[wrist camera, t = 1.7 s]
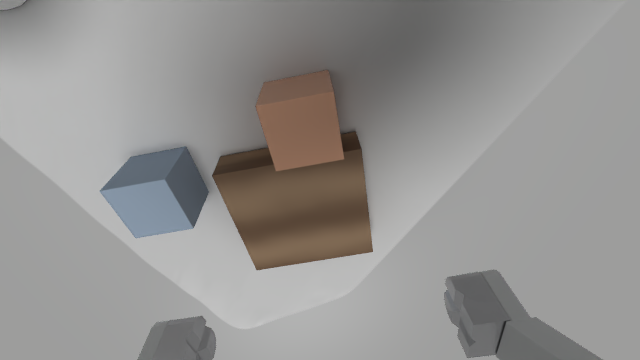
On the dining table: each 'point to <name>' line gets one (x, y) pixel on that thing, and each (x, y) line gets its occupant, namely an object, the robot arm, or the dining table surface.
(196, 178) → the blue block
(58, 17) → the dining table surface
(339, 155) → the terracotta block
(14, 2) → the cup
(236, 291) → the dining table surface
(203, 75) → the dining table surface
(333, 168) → the pedestal
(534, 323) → the robot arm
